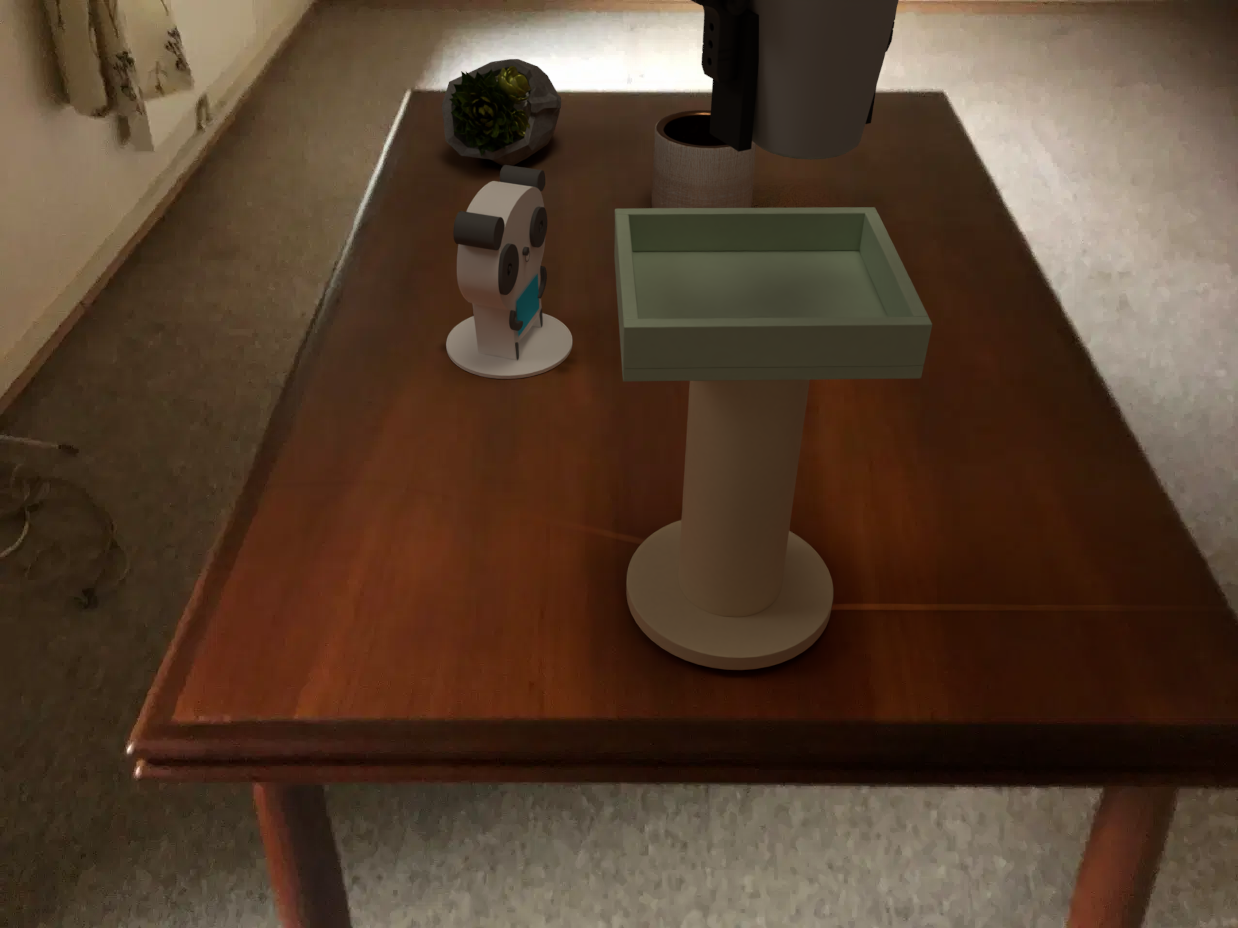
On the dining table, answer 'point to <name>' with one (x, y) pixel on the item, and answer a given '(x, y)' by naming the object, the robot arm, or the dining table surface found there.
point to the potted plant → (501, 111)
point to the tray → (751, 404)
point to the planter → (698, 166)
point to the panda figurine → (505, 282)
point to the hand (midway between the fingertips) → (791, 127)
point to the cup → (817, 73)
